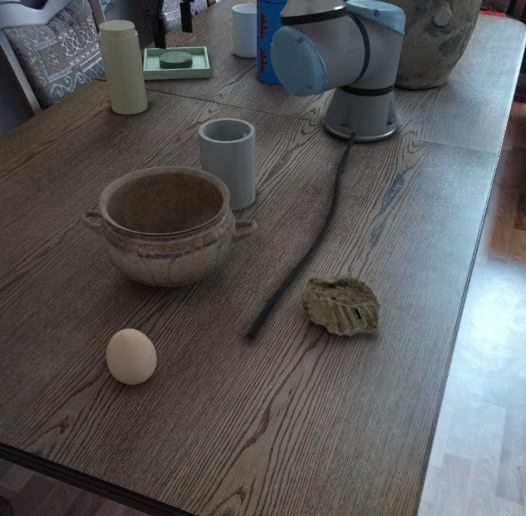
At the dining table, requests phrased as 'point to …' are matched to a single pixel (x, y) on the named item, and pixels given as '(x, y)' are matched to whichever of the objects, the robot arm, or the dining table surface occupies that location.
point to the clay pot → (433, 39)
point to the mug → (245, 30)
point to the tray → (197, 70)
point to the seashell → (341, 305)
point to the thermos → (267, 36)
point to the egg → (131, 357)
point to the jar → (123, 66)
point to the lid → (176, 60)
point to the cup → (230, 157)
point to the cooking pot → (167, 225)
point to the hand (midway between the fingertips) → (174, 40)
